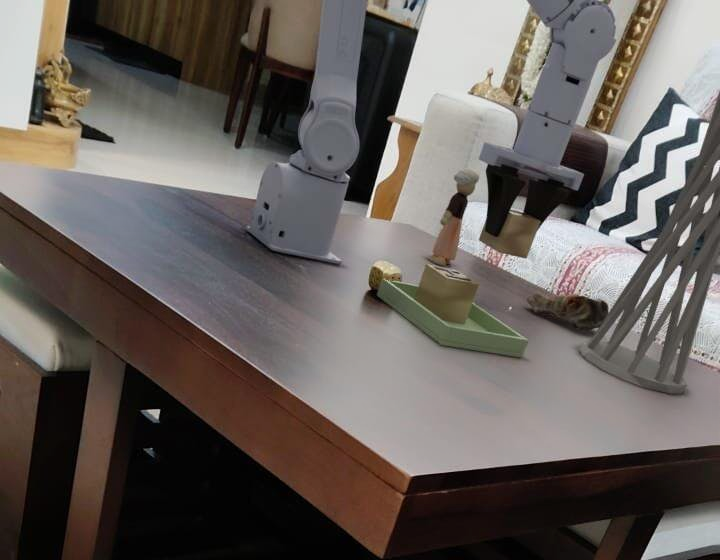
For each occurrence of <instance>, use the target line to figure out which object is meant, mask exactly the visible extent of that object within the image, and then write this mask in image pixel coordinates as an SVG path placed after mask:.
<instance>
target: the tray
mask: <svg viewBox="0 0 720 560" xmlns="http://www.w3.org/2000/svg"><path fill="white" fill-rule="evenodd" d="M386 279H387V278H384V279H382V278H381V280H380V284H379V286H378V290H377V292H376V296H377V297H378V298H379V299H381V300H382V301H383V302H385V303H386V304H387V305H388V306H389V307H391V308H392V309H394V310H395V311H396V312H398V313H399V314H400V315H402V317H404V318H405V319H407V320H408V321H409V322H411V323H412V324H413V325H415V327H417V328H418V329H419V330H421V331H422V332H424V333H425V334H426V335H428V336H429V337H430V338H431V339H433V340H434V341H435V342H437V343H438V344H440V345H441V346H446V347H452V348H458V349H465V350H471V351H477V352H483V353H488V354H489V353H490V354H495V355H503V356H509V357H514V358H523V356H524V353H525V352H526V348H527V346H528V344H529V340H530V339H528V338H526V337H525V336H523V335H522V334H520V333H518V331H516V330H514V329H513V328H511V327H510V326H508V325H507V324H506V323H504V322H502V321H501V320H499V319H498V318H497V317H495V316H494V315H492V314H491V313H490V312H488V311H486V310H485V309H484V308H482V307H480V306H479V305H477V303H475V302H473V303H472V305H471V308H470V311H469V314H468V316H467V319H466V322H465V324H462V323H456V322H451V321H445V320H441V319H440V318H439V317H437V316H436V315H435V314H433V313H432V312H431V311H429V310H428V309H426V308H425V307H424V306H422V305H421V304H420V303H418V302H417V301H415V300H414V299H415V296H416V293H417V290H418V287H419V284H415V283H408V282H404V281H399V280H394V281H390V280H391V279H389V281H388V280H386Z"/></svg>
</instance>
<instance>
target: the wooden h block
mask: <svg viewBox="0 0 720 560" xmlns="http://www.w3.org/2000/svg"><path fill="white" fill-rule="evenodd" d="M418 285H419V287H418V290H417V293H416V296H415V299H414V300H415V301H417V302H418V303H420V304H421V305H422V306H424V307H425V308H426V309H428V310H429V311H431V312H432V313H433V314H435V315H436V316H437V317H439V318H440V319H441V320H445V321H451V322H456V323H462V324H465V322H466V319H467V316H468V314H469V311H470V308H471V305H472V303H474V299H475V297H476V294H477V291H478V290H479V286H480V284H479V283H478V282H476V281H475V280H473V279H472V278H470V277H468V276H467V275H465V274H464V273H463V272H460V271H459V270H457V269H452V268H448V267H443V266H440V265H434V264H429V263H425V265H424V268H423V272H422V275H421V278H420V281H419V284H418Z"/></svg>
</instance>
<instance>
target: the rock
mask: <svg viewBox="0 0 720 560" xmlns="http://www.w3.org/2000/svg"><path fill="white" fill-rule="evenodd" d="M526 302H527V304H528V305H530V306H531V308H532V310H533V312H534V313H535V314H538V315H539V316H544V315H549V316H550V315H551V316H553V317H555V318H561V319H564V320H566V321H567V322H568V323H570V324H571V325H572V326H573V328H574V329H576V330H579V331H580V330H590V331H591V330H594V329H598V328H599V327H600V325H601V324H602V322H603V320H604V319H605V317H606V316H607V314H608V313H609V311H610V310H609V309H610V307H609V304H608V303H607V302H606V301H605V300H602V298H594V299H593V298H590V297H589V296H585V295H579V294H577V293H572V294H566V295H565V294H563V295H556V296H550V295H546V294H543V293H539V292H537V293H534V294H531V295H528V296H527V298H526Z"/></svg>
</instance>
